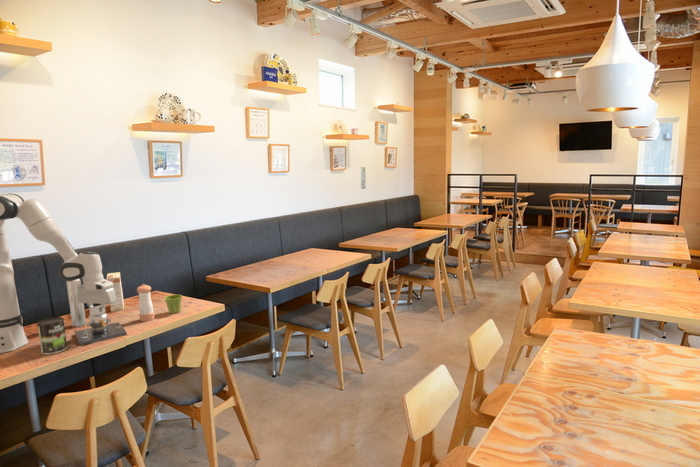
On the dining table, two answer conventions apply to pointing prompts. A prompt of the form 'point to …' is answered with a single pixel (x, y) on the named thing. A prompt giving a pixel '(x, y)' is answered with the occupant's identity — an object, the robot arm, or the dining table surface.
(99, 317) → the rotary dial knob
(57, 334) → the coffee can
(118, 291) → the coffeecake box
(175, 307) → the plant pot
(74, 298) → the thermos flask
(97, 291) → the robot arm
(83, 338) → the post plate
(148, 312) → the pepper shaker
